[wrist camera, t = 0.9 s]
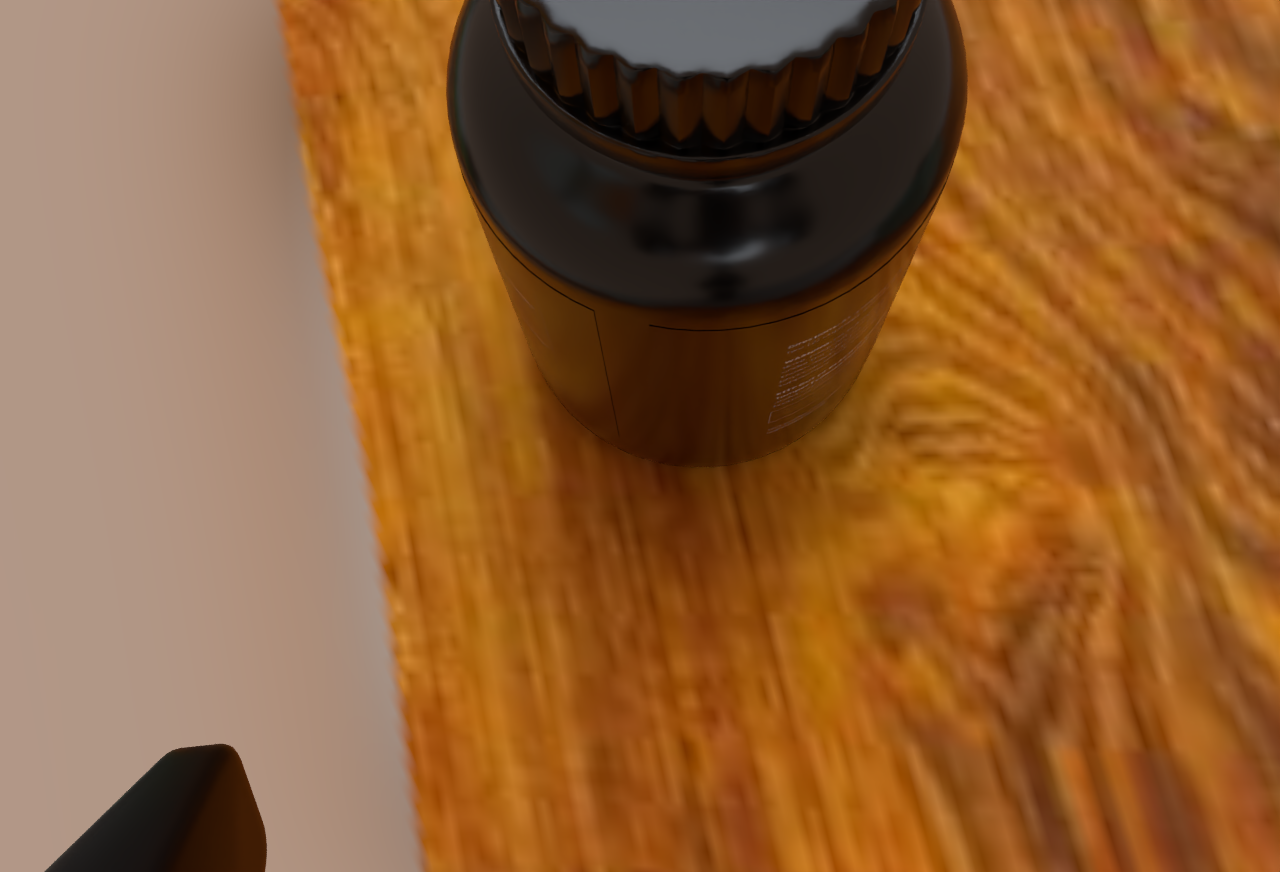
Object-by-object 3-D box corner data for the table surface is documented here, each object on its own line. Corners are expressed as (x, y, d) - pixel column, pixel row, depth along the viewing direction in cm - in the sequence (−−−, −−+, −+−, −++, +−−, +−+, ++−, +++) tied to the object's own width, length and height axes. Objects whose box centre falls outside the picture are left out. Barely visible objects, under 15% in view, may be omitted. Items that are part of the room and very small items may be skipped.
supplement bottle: (823, 120, 24) (964, -455, 13) (910, 435, 23) (1166, 102, 11) (494, 186, 24) (331, -338, 12) (556, 509, 22) (435, 249, 11)
